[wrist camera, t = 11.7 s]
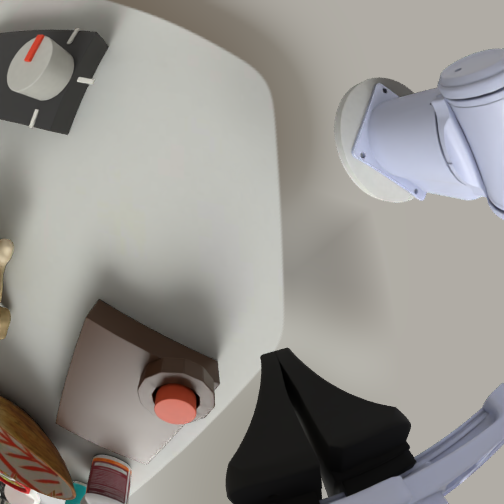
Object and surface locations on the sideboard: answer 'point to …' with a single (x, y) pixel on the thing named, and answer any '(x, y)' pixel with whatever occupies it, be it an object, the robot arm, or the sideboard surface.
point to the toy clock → (13, 483)
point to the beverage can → (78, 492)
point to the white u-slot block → (21, 496)
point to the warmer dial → (40, 69)
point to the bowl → (31, 454)
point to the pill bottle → (108, 481)
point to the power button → (175, 404)
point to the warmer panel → (68, 100)
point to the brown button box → (129, 384)
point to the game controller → (2, 491)
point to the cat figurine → (3, 251)
